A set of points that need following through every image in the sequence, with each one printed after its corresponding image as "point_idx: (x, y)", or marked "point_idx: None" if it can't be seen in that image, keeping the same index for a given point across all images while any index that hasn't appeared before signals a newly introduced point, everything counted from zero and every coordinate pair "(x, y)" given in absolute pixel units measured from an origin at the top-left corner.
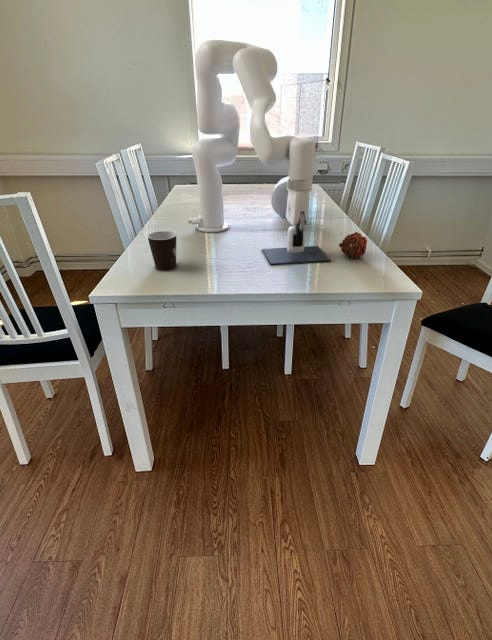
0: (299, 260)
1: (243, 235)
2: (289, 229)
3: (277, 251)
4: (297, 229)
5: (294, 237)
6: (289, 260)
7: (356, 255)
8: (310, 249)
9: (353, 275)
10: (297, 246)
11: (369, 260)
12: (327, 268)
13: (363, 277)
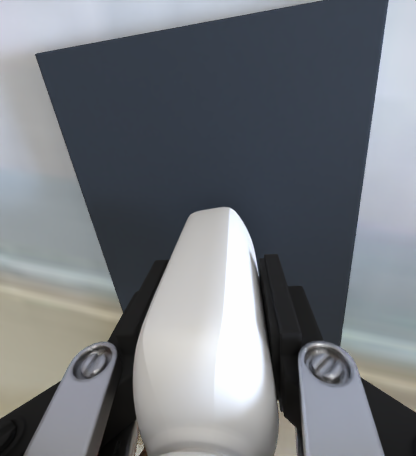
0: (120, 250)
1: None
2: (163, 342)
3: (287, 136)
4: (5, 436)
5: (132, 316)
6: (112, 197)
7: (144, 448)
8: None
9: (26, 384)
10: None
11: None
12: (69, 335)
13: (18, 400)
